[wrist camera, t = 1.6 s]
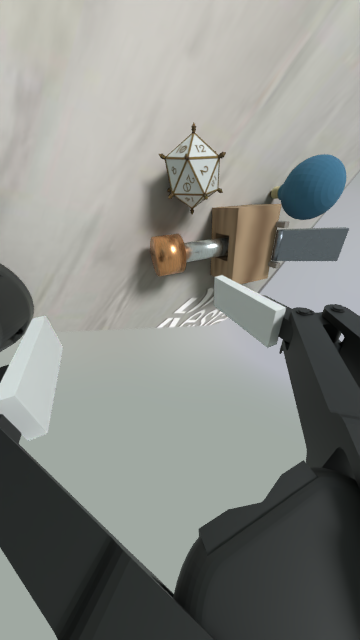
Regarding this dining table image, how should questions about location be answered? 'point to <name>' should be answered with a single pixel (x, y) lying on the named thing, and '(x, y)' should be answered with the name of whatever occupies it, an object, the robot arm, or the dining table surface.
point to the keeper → (309, 244)
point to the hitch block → (246, 240)
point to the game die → (193, 170)
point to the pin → (183, 252)
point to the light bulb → (312, 187)
